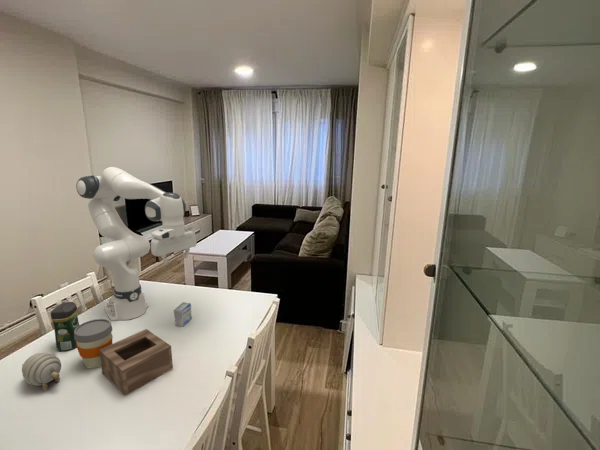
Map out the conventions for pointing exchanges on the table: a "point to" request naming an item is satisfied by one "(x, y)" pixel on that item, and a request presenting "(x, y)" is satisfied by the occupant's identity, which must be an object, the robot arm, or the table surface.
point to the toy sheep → (41, 369)
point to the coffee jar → (65, 325)
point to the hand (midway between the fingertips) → (176, 260)
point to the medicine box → (182, 314)
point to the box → (136, 360)
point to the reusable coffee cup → (93, 340)
